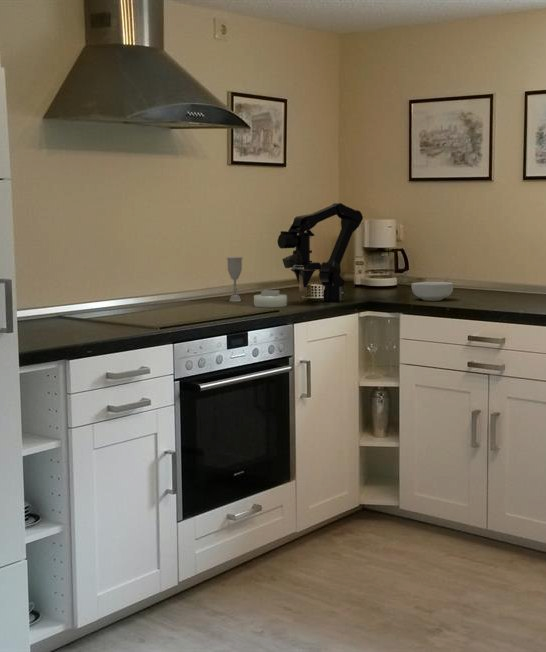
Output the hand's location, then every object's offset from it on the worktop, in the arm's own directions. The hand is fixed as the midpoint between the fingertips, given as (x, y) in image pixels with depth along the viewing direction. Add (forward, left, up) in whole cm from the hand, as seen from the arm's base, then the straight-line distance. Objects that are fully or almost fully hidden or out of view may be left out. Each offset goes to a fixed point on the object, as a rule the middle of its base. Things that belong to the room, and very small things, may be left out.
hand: (302, 286), depth 384 cm
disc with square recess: (+10, +11, -7) cm, 16 cm away
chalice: (+31, -4, -7) cm, 32 cm away
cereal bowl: (-47, -27, -7) cm, 55 cm away
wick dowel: (0, 0, -2) cm, 2 cm away
